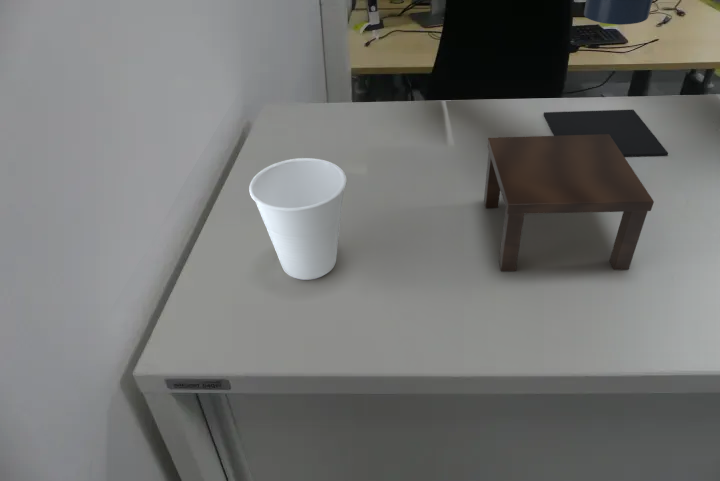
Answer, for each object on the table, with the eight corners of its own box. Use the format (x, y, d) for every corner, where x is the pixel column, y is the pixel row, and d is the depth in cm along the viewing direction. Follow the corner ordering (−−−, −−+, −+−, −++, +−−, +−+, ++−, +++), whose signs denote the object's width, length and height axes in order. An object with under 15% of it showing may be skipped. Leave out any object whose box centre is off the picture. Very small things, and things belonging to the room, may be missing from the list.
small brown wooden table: (593, 197, 71) (609, 133, 65) (631, 270, 60) (654, 201, 54) (481, 200, 72) (488, 137, 66) (499, 272, 61) (508, 204, 55)
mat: (632, 111, 89) (633, 109, 89) (667, 155, 78) (668, 153, 78) (543, 114, 90) (543, 112, 90) (565, 158, 79) (565, 155, 79)
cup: (250, 285, 61) (231, 202, 55) (286, 232, 69) (273, 153, 62) (336, 301, 59) (327, 215, 52) (363, 243, 66) (358, 162, 59)
